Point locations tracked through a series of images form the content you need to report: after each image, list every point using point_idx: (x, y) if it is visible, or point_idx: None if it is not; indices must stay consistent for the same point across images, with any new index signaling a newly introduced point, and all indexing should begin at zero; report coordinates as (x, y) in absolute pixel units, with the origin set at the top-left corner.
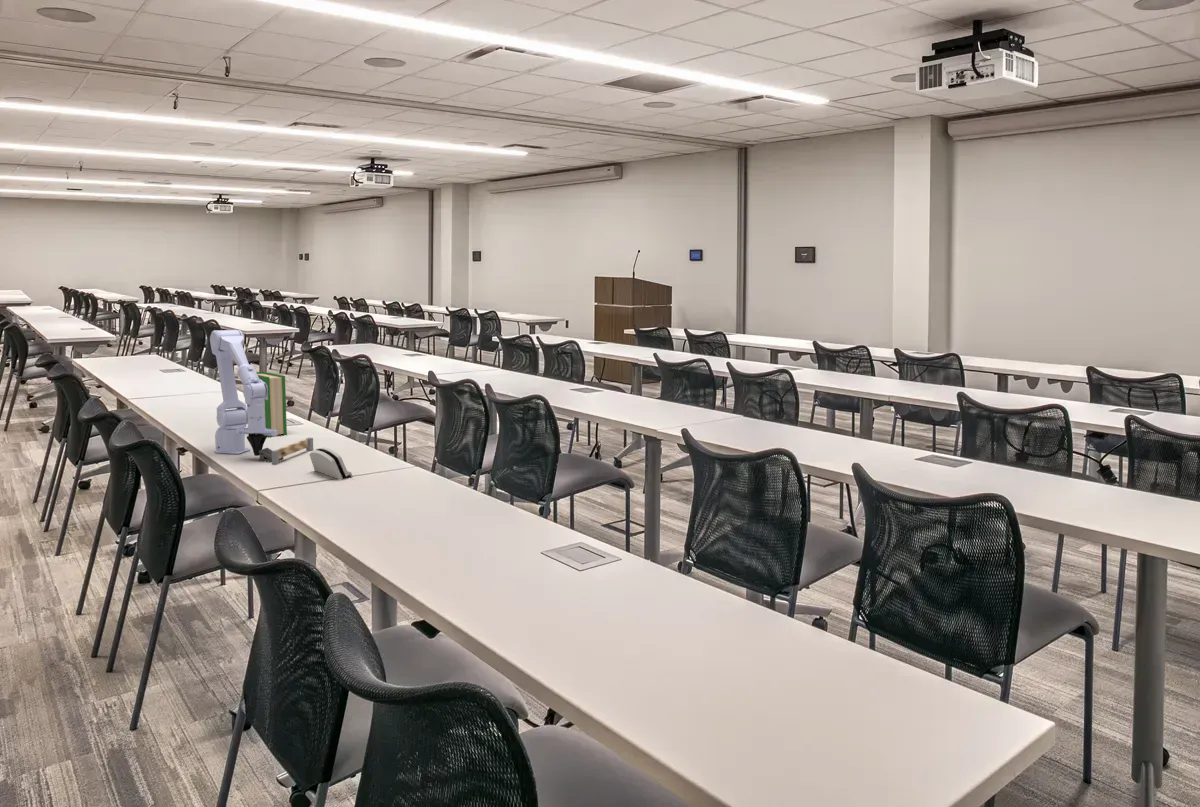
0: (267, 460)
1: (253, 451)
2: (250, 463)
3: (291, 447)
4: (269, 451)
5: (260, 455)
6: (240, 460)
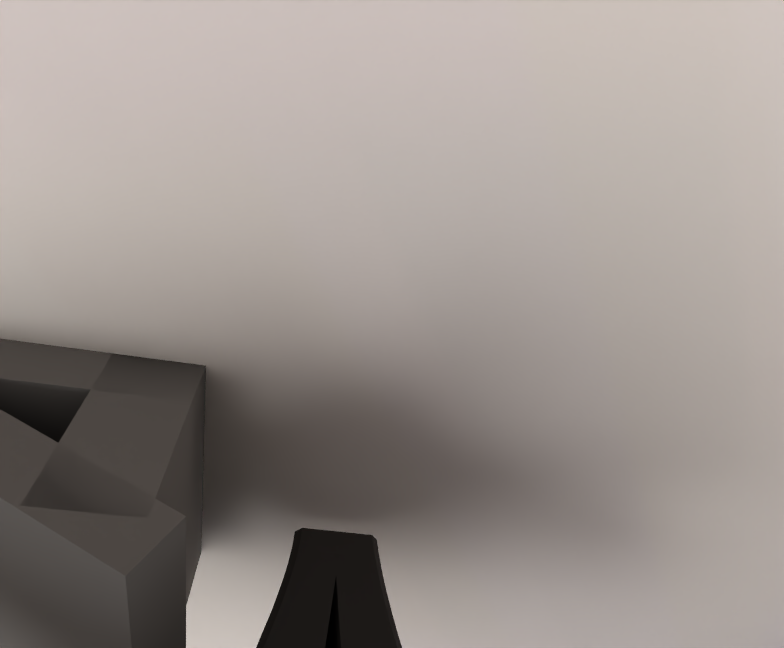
0: (4, 361)
1: (382, 606)
2: (306, 173)
3: None
4: (34, 638)
5: (144, 458)
6: (612, 401)
